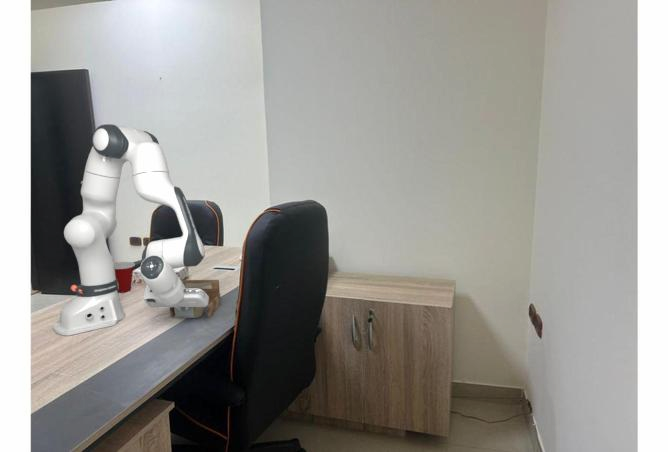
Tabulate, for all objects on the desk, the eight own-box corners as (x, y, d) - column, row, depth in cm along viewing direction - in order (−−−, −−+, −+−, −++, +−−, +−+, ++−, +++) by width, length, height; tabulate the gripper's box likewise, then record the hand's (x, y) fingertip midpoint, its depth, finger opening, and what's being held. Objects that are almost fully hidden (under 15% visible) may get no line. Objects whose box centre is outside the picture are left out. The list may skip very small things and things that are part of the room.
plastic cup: (133, 293, 190) (130, 266, 188) (106, 295, 189) (103, 268, 187) (140, 286, 201) (138, 260, 199) (115, 287, 199) (112, 261, 197)
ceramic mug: (196, 321, 157) (194, 300, 156) (174, 320, 159) (173, 299, 158) (209, 311, 168) (208, 291, 166) (189, 310, 169) (188, 290, 168)
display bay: (210, 316, 162) (208, 290, 160) (170, 317, 162) (168, 290, 161) (220, 304, 174) (218, 279, 172) (183, 304, 175) (181, 280, 173)
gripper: (203, 281, 147) (215, 300, 158) (142, 282, 148) (158, 300, 159) (200, 299, 143) (212, 316, 154) (137, 299, 144) (154, 317, 156)
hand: (184, 308), depth 157 cm, fingers closed
